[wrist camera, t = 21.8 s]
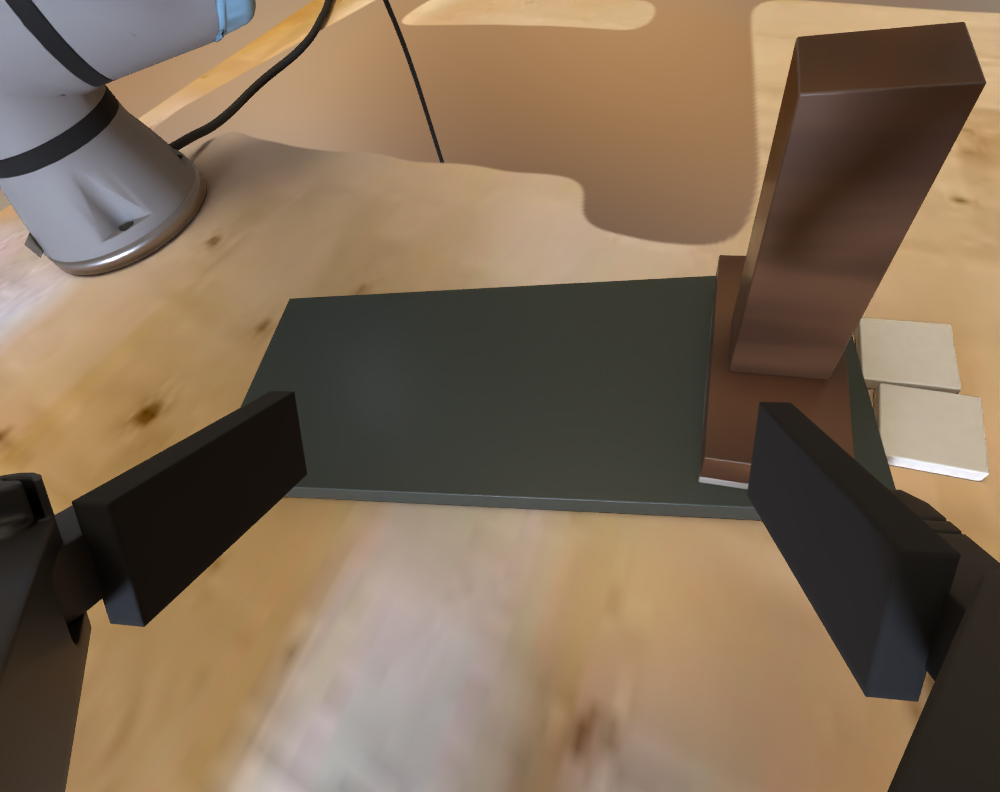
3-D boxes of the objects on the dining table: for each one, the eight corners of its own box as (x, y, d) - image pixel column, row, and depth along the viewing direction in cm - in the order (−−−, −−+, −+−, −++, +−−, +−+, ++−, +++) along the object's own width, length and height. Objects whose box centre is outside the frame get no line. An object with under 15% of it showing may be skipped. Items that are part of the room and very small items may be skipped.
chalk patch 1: (854, 326, 28) (859, 316, 28) (944, 333, 27) (951, 323, 27) (856, 387, 27) (862, 378, 26) (953, 398, 25) (962, 389, 25)
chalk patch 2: (873, 391, 26) (879, 382, 26) (972, 405, 25) (982, 396, 24) (873, 462, 24) (879, 454, 24) (980, 482, 23) (990, 474, 22)
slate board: (300, 312, 38) (289, 298, 37) (825, 288, 30) (833, 268, 29) (222, 494, 31) (205, 483, 30) (888, 527, 23) (903, 514, 22)
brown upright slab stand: (713, 288, 30) (769, -30, 18) (823, 293, 28) (969, -55, 16) (698, 482, 24) (765, 207, 12) (836, 503, 22) (1081, 207, 10)
